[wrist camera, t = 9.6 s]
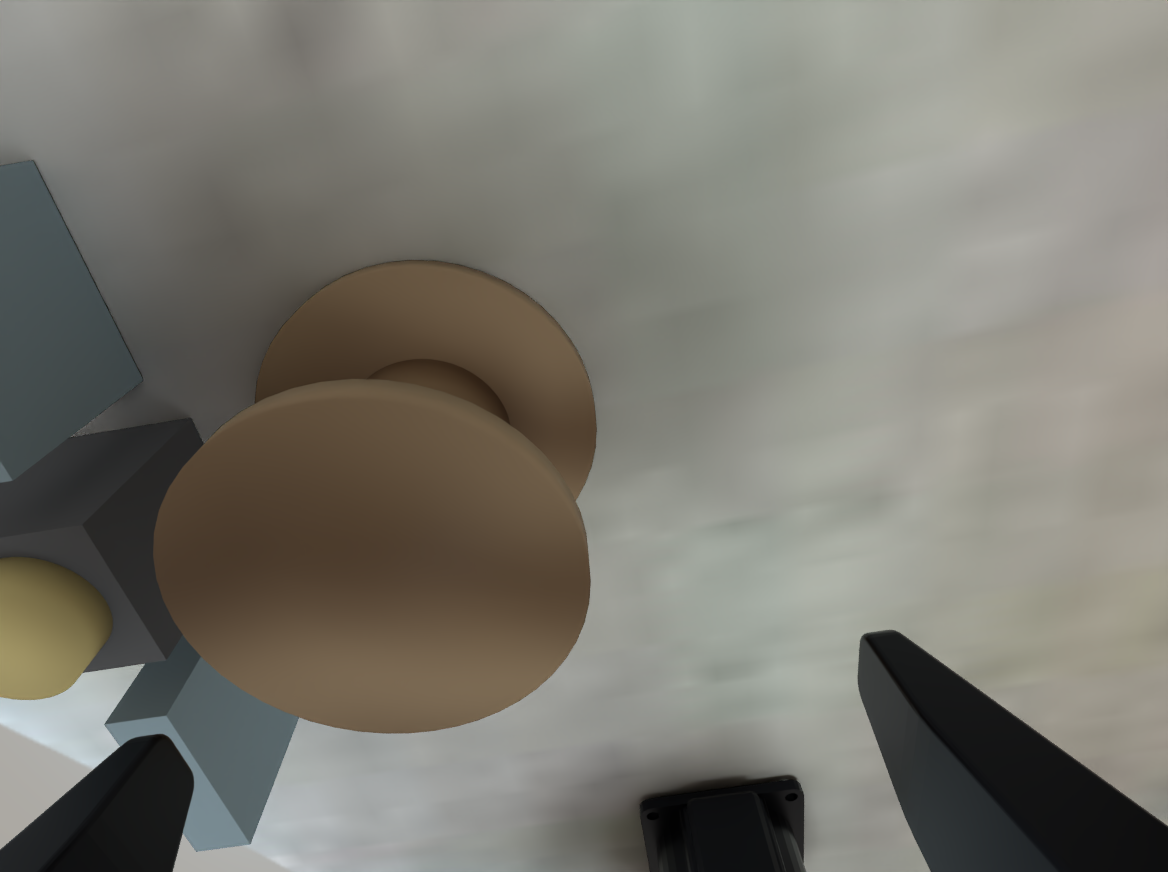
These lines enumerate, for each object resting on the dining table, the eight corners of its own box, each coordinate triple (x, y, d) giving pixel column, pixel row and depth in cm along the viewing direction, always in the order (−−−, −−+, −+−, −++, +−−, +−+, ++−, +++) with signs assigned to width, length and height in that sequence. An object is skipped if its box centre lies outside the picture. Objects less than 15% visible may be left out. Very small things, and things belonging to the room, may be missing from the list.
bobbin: (614, 527, 21) (641, 717, 15) (328, 570, 21) (239, 774, 15) (567, 233, 17) (578, 329, 11) (211, 291, 17) (21, 417, 11)
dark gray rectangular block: (191, 417, 19) (44, 561, 13) (248, 533, 21) (139, 701, 15) (51, 440, 19) (-151, 591, 13) (120, 554, 21) (-33, 727, 15)
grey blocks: (304, 702, 24) (250, 844, 20) (260, 708, 24) (196, 851, 20) (32, 160, 15) (-173, 197, 11) (-36, 171, 16) (-266, 213, 11)
